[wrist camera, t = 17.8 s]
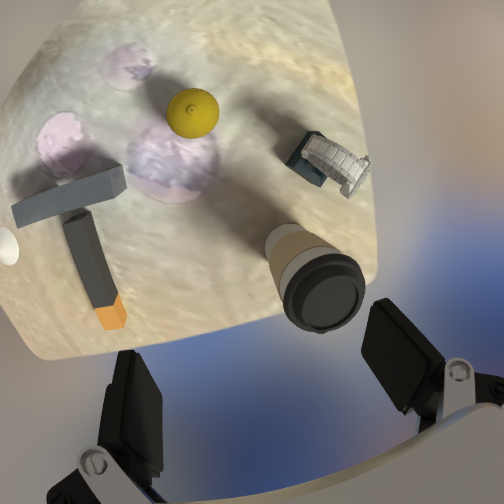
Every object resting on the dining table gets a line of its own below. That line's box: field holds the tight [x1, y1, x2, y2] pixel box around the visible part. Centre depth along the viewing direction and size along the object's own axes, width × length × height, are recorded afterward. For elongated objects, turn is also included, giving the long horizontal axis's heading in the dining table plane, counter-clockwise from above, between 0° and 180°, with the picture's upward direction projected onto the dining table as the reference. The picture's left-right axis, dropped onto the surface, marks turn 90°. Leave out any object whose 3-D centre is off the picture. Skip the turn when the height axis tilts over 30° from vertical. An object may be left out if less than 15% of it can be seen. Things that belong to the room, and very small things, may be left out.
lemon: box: [166, 88, 219, 139], centre depth 25 cm, size 6×6×8 cm
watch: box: [286, 131, 372, 200], centre depth 29 cm, size 6×8×11 cm
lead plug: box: [62, 212, 127, 330], centre depth 33 cm, size 16×3×3 cm, turn 7°
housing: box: [11, 165, 127, 229], centre depth 27 cm, size 3×15×6 cm, turn 97°
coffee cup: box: [265, 224, 365, 334], centre depth 31 cm, size 9×9×15 cm
